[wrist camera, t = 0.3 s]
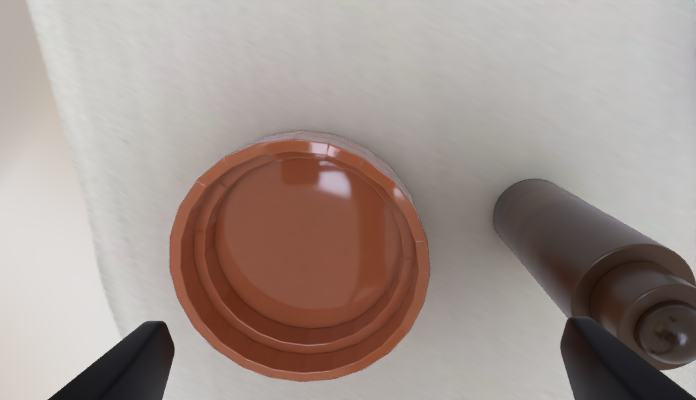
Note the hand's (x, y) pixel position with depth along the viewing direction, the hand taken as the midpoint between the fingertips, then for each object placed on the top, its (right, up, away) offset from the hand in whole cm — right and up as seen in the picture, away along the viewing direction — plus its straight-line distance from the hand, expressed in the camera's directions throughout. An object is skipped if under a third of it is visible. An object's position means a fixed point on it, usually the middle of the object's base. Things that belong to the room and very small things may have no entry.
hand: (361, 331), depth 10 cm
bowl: (-3, 0, +16) cm, 16 cm away
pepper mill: (+10, +2, +15) cm, 18 cm away
